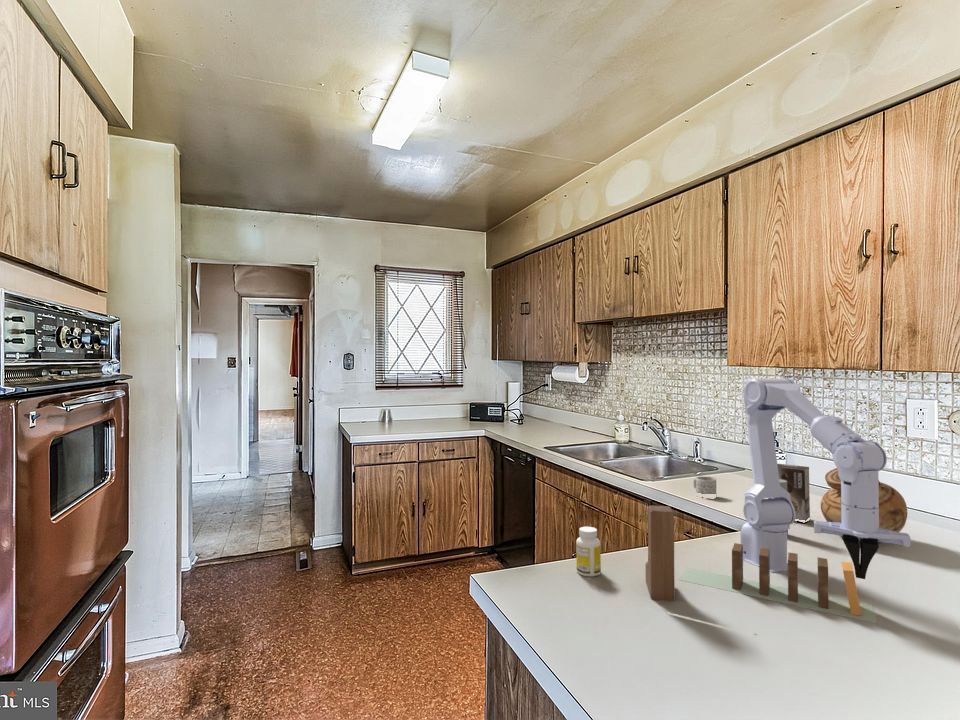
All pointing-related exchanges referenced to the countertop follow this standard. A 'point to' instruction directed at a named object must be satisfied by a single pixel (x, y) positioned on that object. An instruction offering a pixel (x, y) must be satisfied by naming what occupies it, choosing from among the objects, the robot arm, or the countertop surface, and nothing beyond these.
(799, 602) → the mat
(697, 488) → the mug
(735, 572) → the domino
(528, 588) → the countertop surface
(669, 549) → the wooden block
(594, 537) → the supplement bottle
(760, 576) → the domino
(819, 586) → the domino
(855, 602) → the orange domino
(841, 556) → the countertop surface
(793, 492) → the coffee box
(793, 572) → the domino
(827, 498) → the clay pot
